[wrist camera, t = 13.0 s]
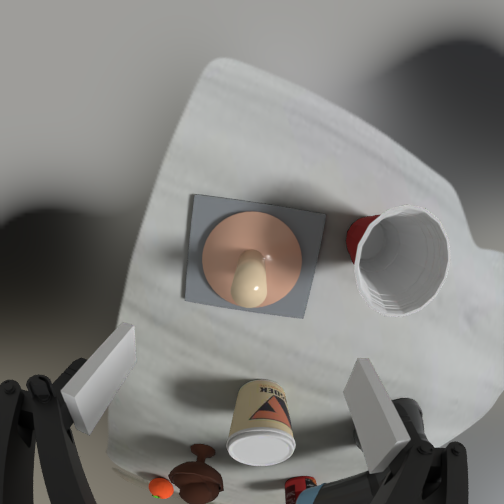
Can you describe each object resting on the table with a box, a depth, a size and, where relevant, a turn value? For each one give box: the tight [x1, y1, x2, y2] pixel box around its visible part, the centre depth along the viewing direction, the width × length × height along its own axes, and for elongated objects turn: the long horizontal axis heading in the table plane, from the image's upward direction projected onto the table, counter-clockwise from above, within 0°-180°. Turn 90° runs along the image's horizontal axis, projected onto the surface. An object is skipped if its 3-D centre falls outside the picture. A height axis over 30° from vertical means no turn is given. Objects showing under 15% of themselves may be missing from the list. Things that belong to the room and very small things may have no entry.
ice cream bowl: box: [168, 444, 224, 504], centre depth 38 cm, size 11×11×15 cm
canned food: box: [285, 476, 317, 504], centre depth 44 cm, size 8×8×11 cm
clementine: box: [149, 478, 174, 499], centre depth 48 cm, size 8×7×7 cm
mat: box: [185, 194, 326, 319], centre depth 34 cm, size 16×14×1 cm
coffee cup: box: [226, 379, 296, 466], centre depth 34 cm, size 9×9×12 cm
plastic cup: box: [346, 204, 451, 317], centre depth 27 cm, size 11×11×12 cm
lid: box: [202, 211, 302, 308], centre depth 29 cm, size 12×12×10 cm
